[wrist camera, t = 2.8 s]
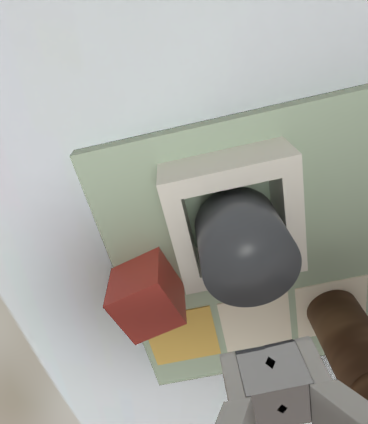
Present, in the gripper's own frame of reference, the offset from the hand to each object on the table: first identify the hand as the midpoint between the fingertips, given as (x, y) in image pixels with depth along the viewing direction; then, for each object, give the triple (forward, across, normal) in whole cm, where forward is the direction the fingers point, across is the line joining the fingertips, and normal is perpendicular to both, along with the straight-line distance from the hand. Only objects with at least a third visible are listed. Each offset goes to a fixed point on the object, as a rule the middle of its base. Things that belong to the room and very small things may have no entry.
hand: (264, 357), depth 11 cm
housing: (+10, -1, 0) cm, 11 cm away
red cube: (+11, +5, +4) cm, 12 cm away
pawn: (+10, -7, +10) cm, 16 cm away
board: (+12, -1, +5) cm, 13 cm away
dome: (+8, -1, 0) cm, 8 cm away
